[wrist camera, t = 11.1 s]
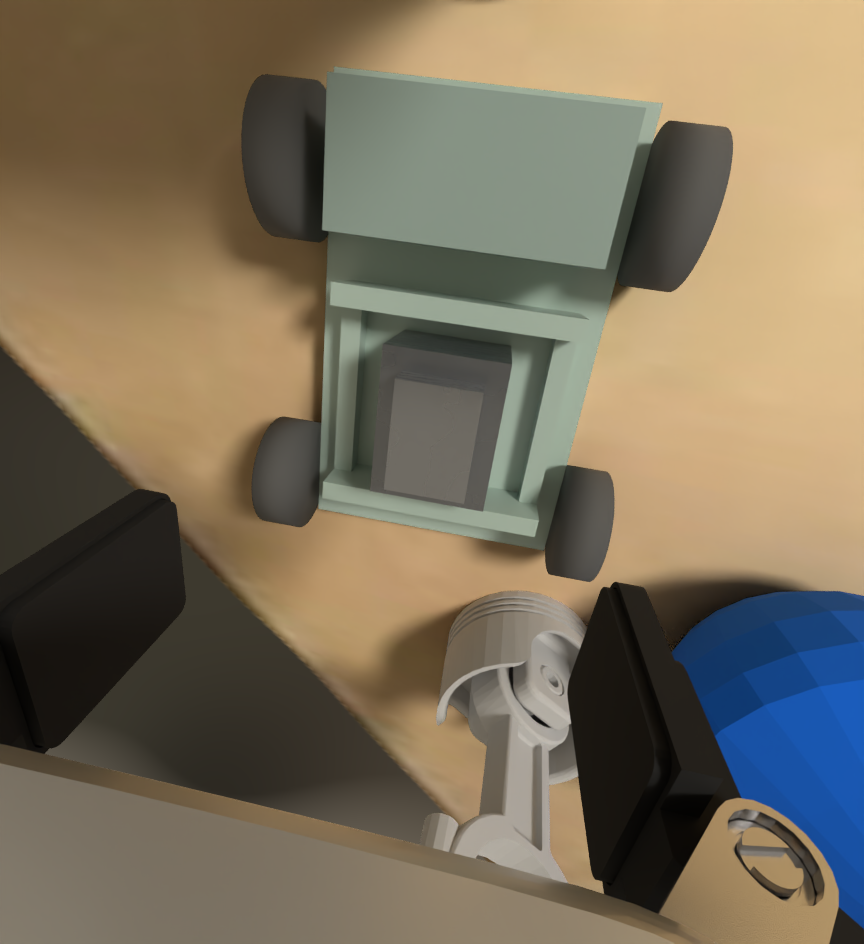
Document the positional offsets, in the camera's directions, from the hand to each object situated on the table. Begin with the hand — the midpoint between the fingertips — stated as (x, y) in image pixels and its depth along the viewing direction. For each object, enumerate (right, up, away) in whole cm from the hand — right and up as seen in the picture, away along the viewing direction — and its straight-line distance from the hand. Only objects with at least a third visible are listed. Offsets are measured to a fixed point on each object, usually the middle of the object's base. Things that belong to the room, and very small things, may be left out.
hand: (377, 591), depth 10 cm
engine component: (+7, -10, +24) cm, 26 cm away
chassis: (+3, +10, +16) cm, 19 cm away
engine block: (+2, +6, +16) cm, 17 cm away
